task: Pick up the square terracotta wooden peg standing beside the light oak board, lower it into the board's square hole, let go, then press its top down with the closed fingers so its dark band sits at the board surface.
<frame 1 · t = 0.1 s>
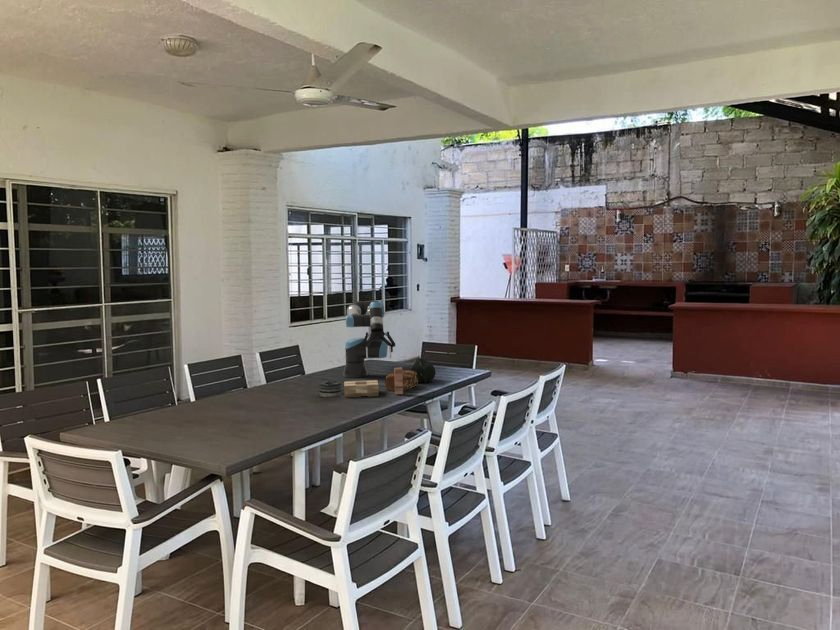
hand: (378, 357, 381), 15 cm above the table, tool tilted 35°, fingers open, 13 cm apart
bread: (402, 388, 368), on the table
squash: (423, 382, 385), on the table
peg: (398, 393, 353), on the table
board: (361, 394, 354), on the table
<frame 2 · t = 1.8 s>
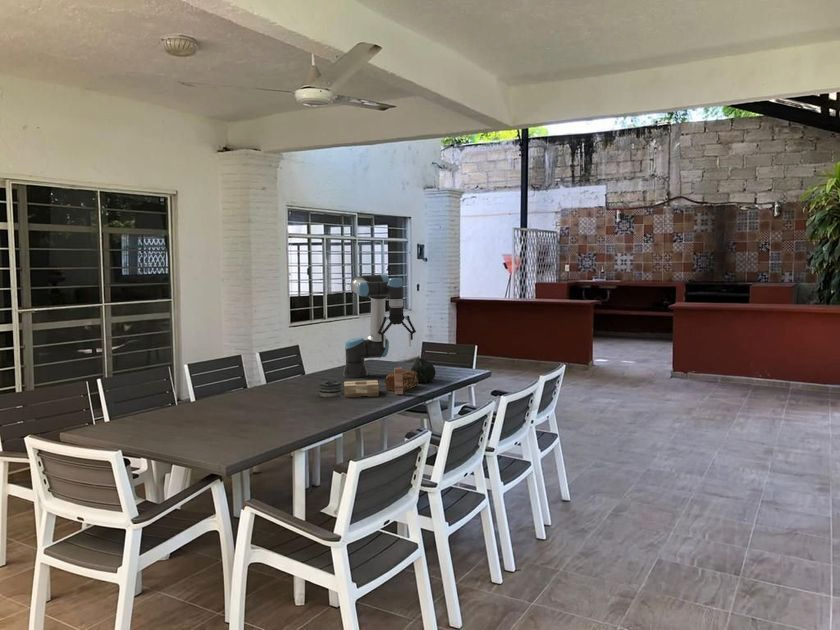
hand: (397, 346, 351), 26 cm above the table, tool pointing down, fingers open, 13 cm apart
nothing on the table moved.
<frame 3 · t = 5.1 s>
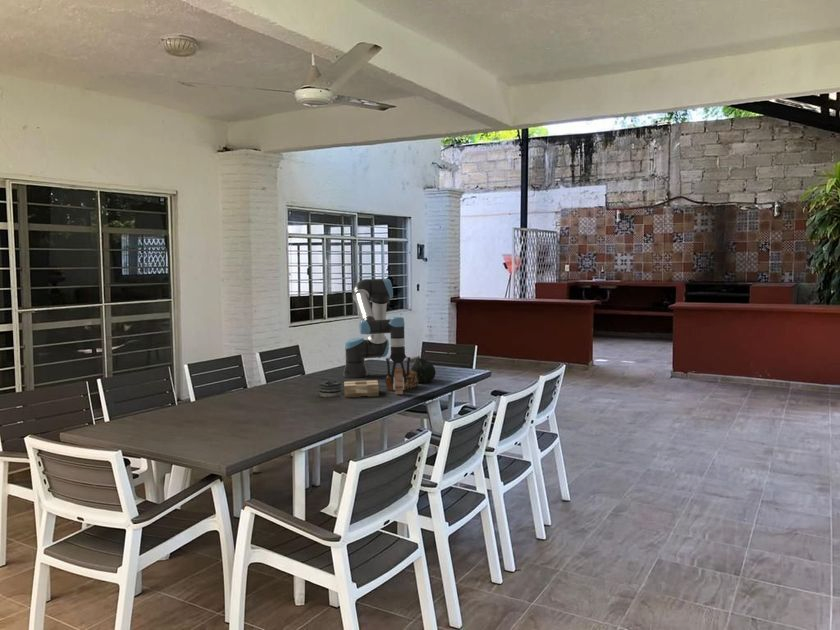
hand: (398, 389, 352), 3 cm above the table, tool pointing down, fingers closed on peg, 4 cm apart
peg: (398, 393, 353), on the table, touching gripper
everything else where it was.
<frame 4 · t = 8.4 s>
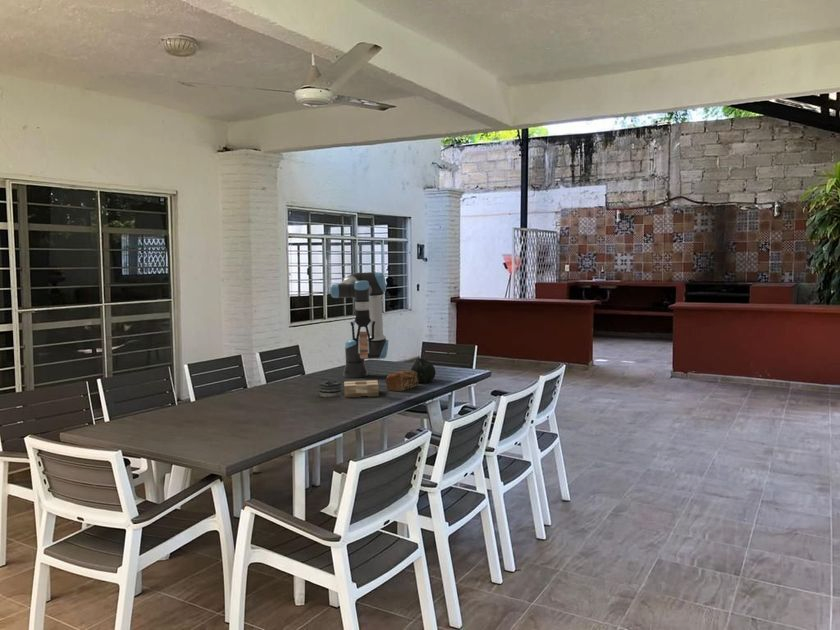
hand: (363, 352, 352), 22 cm above the table, tool pointing down, fingers closed on peg, 4 cm apart
peg: (363, 357, 352), point 20 cm above the table, touching gripper
everything else where it was.
when the fingers open (8 cm above the table, at t = 11.6 s): peg drops 3 cm, resting on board.
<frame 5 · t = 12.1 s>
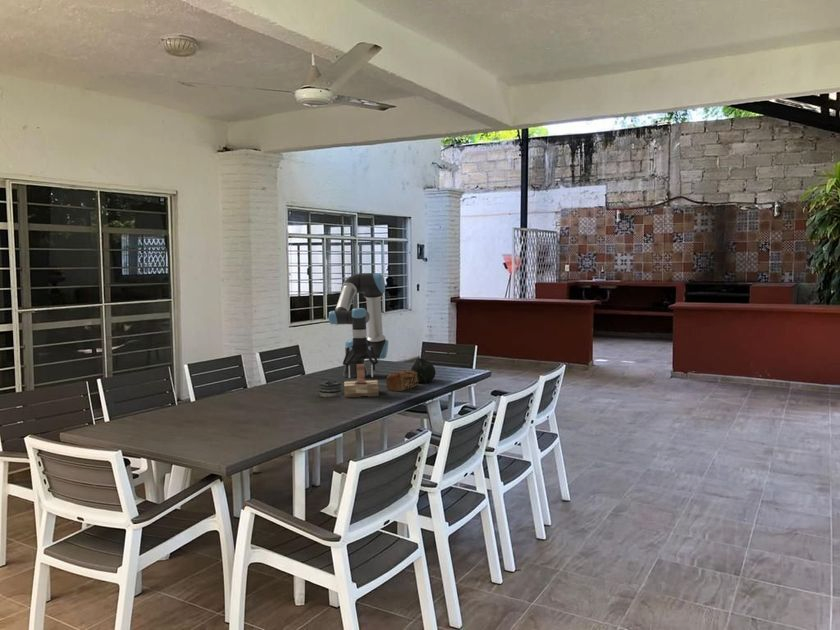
hand: (360, 377, 353), 9 cm above the table, tool pointing down, fingers open, 11 cm apart
peg: (361, 390, 354), point 2 cm above the table, touching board
everything else where it was.
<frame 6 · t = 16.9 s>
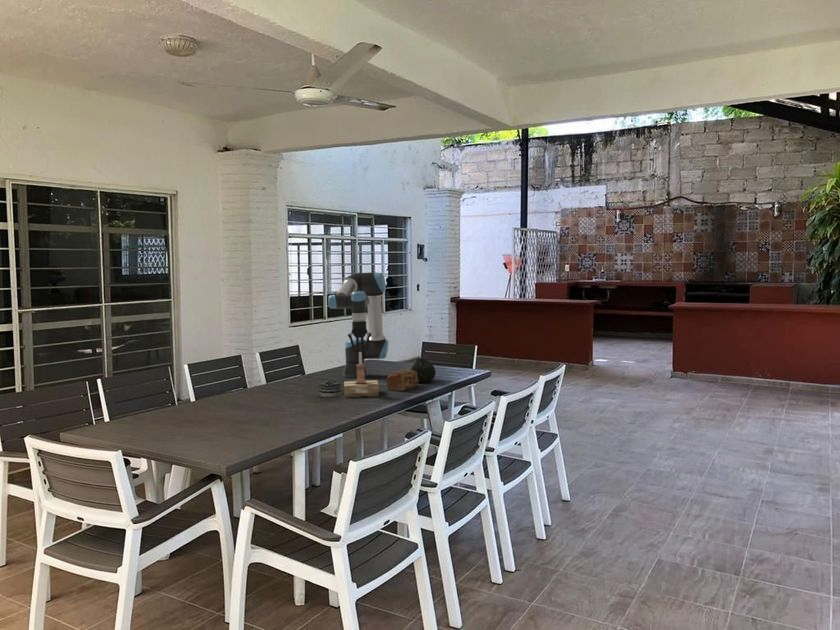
hand: (360, 364, 353), 16 cm above the table, tool pointing down, fingers closed
peg: (361, 390, 354), point 2 cm above the table, touching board, gripper
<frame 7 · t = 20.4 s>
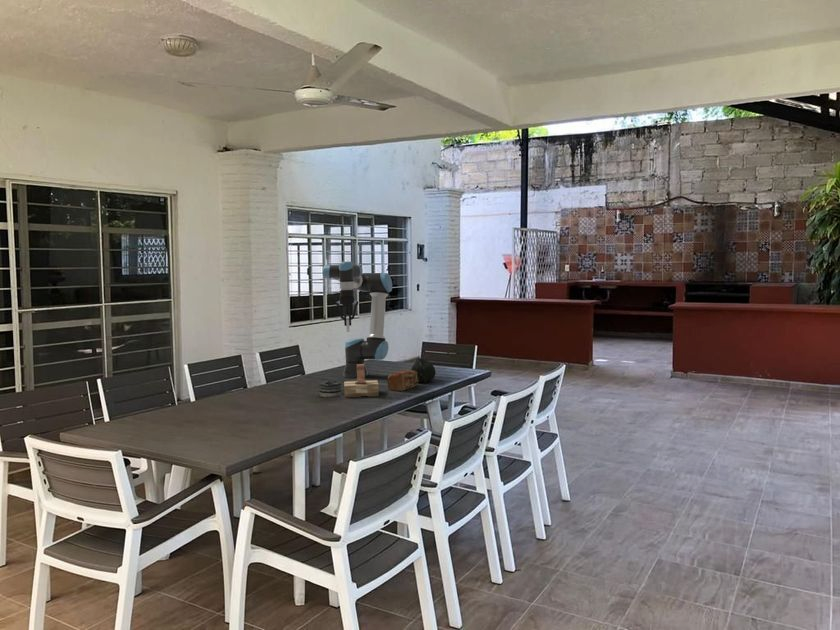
hand: (348, 331, 366), 32 cm above the table, tool pointing down, fingers closed
peg: (361, 390, 354), point 2 cm above the table, touching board
at the end: peg 0.0 cm off-centre on the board, point 2.0 cm above the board's base; peg tilted 0°; the gripper is holding nothing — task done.
